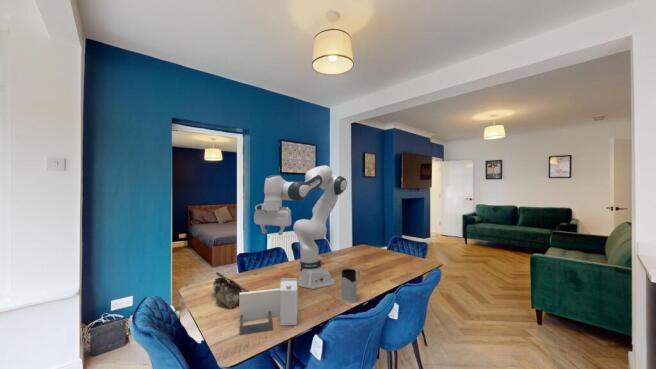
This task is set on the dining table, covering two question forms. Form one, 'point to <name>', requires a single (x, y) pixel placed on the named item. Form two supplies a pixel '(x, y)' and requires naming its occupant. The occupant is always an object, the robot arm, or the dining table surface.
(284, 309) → the milk carton
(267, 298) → the wall board
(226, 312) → the dining table surface
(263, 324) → the cleat bracket
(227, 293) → the hollow geode rock
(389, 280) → the dining table surface
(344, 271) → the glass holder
